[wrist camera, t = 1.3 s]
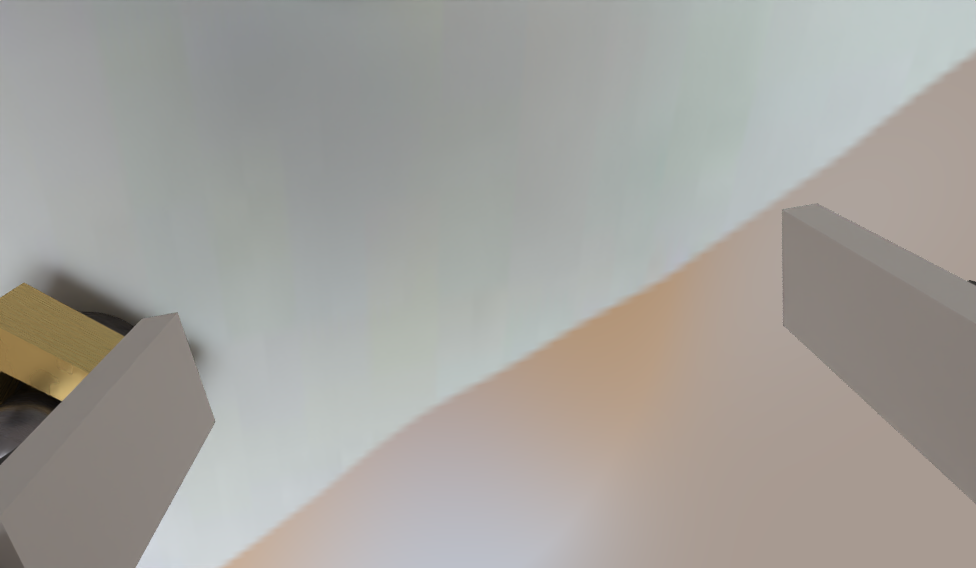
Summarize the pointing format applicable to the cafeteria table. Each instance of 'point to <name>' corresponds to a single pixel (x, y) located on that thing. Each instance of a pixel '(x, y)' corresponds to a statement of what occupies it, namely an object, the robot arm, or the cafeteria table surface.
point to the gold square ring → (47, 343)
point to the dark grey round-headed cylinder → (38, 399)
